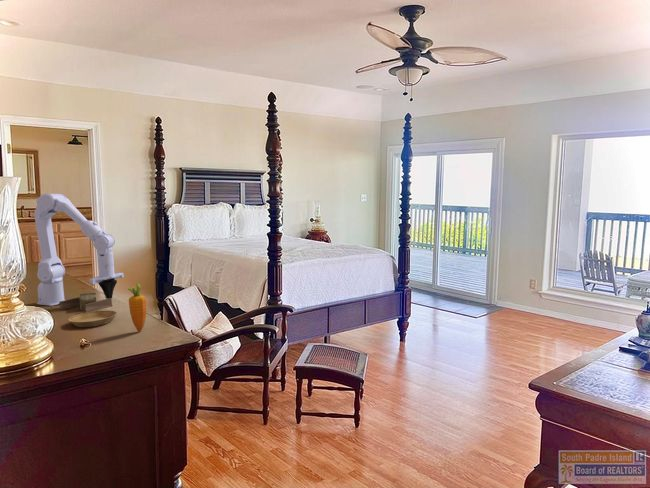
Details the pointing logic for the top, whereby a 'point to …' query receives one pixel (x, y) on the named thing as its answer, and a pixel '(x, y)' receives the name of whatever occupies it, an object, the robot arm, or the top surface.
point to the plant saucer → (92, 318)
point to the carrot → (137, 307)
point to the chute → (87, 307)
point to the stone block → (87, 299)
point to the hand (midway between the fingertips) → (108, 298)
